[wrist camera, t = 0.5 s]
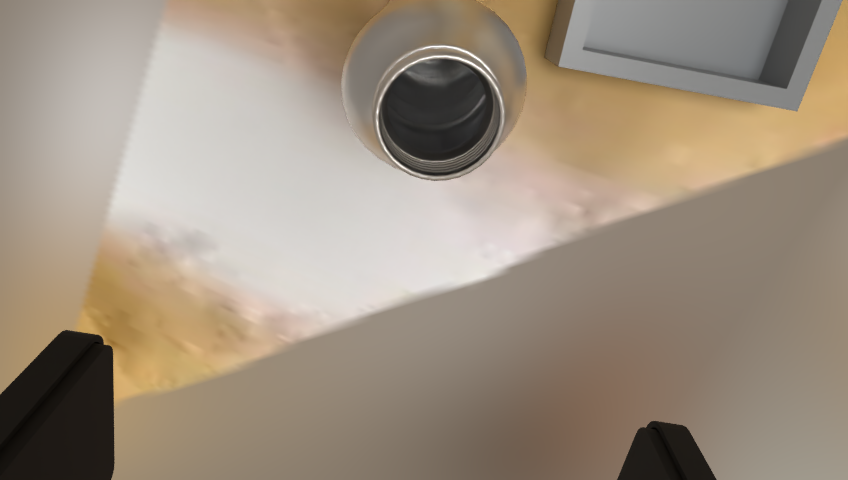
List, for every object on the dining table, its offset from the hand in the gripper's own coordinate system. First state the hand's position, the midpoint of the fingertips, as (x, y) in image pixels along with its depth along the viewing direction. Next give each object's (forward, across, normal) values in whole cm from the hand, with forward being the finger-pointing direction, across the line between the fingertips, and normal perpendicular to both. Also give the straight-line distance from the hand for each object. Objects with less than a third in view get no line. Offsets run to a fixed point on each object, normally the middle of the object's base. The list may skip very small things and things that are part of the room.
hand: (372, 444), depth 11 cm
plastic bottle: (+29, -1, -4) cm, 29 cm away
